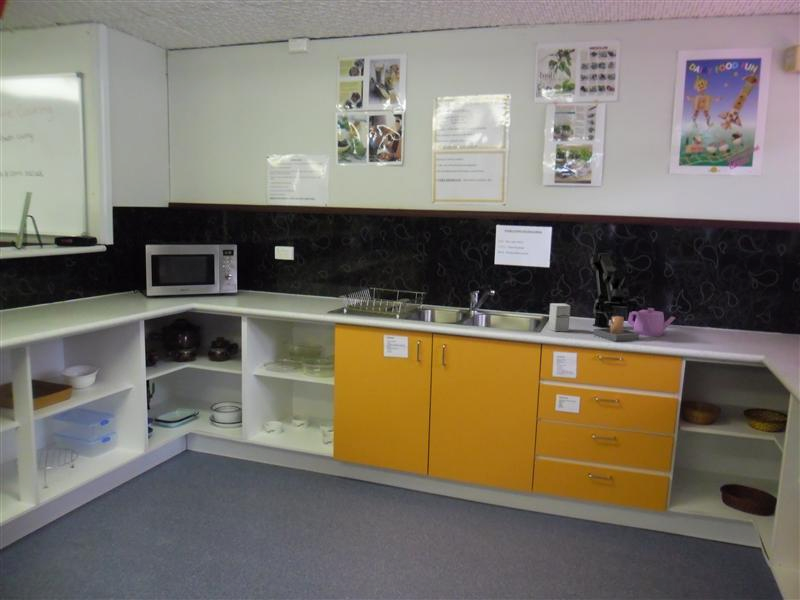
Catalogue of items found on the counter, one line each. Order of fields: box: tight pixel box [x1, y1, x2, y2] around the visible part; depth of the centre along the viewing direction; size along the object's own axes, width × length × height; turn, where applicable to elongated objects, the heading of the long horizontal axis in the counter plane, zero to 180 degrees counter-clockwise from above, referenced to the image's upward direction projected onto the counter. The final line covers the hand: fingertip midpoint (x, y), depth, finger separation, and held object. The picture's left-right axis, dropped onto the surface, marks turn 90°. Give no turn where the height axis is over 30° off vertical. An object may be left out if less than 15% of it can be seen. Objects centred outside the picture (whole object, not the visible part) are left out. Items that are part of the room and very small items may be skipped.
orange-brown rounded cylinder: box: [609, 315, 625, 335], centre depth 287 cm, size 6×6×9 cm
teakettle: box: [627, 307, 676, 338], centre depth 299 cm, size 17×17×12 cm
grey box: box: [548, 302, 571, 332], centre depth 301 cm, size 7×7×13 cm
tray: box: [593, 327, 640, 343], centre depth 288 cm, size 14×14×3 cm
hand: (617, 319), depth 285 cm, fingers open, 8 cm apart
